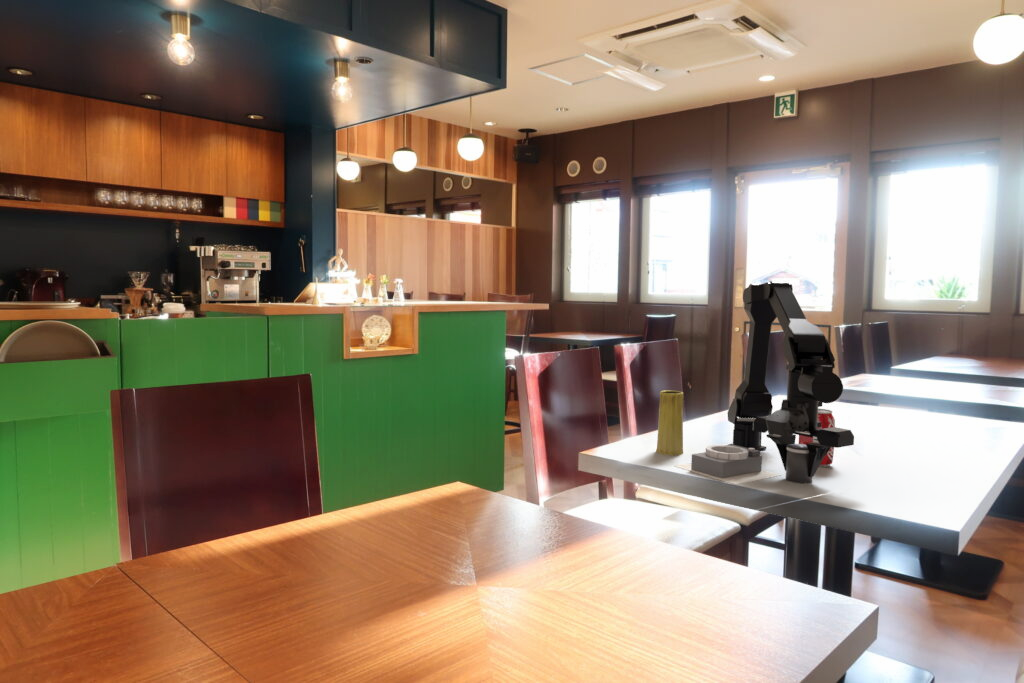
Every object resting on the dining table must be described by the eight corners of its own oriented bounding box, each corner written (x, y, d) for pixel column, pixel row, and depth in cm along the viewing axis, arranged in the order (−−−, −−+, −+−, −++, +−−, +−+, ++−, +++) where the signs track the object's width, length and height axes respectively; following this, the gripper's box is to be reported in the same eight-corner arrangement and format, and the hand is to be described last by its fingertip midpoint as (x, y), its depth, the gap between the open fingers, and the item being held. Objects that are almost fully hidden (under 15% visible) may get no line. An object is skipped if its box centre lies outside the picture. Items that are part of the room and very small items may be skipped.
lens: (795, 476, 137) (796, 442, 137) (817, 482, 133) (819, 446, 133) (779, 480, 135) (781, 444, 134) (802, 486, 130) (804, 449, 130)
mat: (718, 459, 151) (718, 458, 151) (781, 476, 137) (781, 475, 137) (673, 467, 143) (673, 465, 143) (735, 485, 130) (735, 484, 130)
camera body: (729, 462, 147) (730, 441, 147) (761, 471, 140) (762, 449, 140) (690, 469, 140) (691, 447, 140) (722, 478, 133) (723, 455, 133)
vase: (685, 456, 153) (688, 394, 152) (658, 456, 153) (660, 393, 152) (679, 450, 159) (681, 390, 158) (653, 450, 159) (655, 389, 159)
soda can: (826, 461, 151) (828, 408, 151) (838, 469, 144) (840, 413, 144) (793, 460, 152) (795, 407, 151) (803, 467, 145) (806, 412, 144)
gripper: (736, 391, 136) (733, 468, 137) (822, 405, 121) (817, 491, 122) (771, 388, 142) (768, 461, 143) (857, 400, 127) (853, 483, 128)
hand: (799, 473), depth 134 cm, fingers closed on lens, 5 cm apart
